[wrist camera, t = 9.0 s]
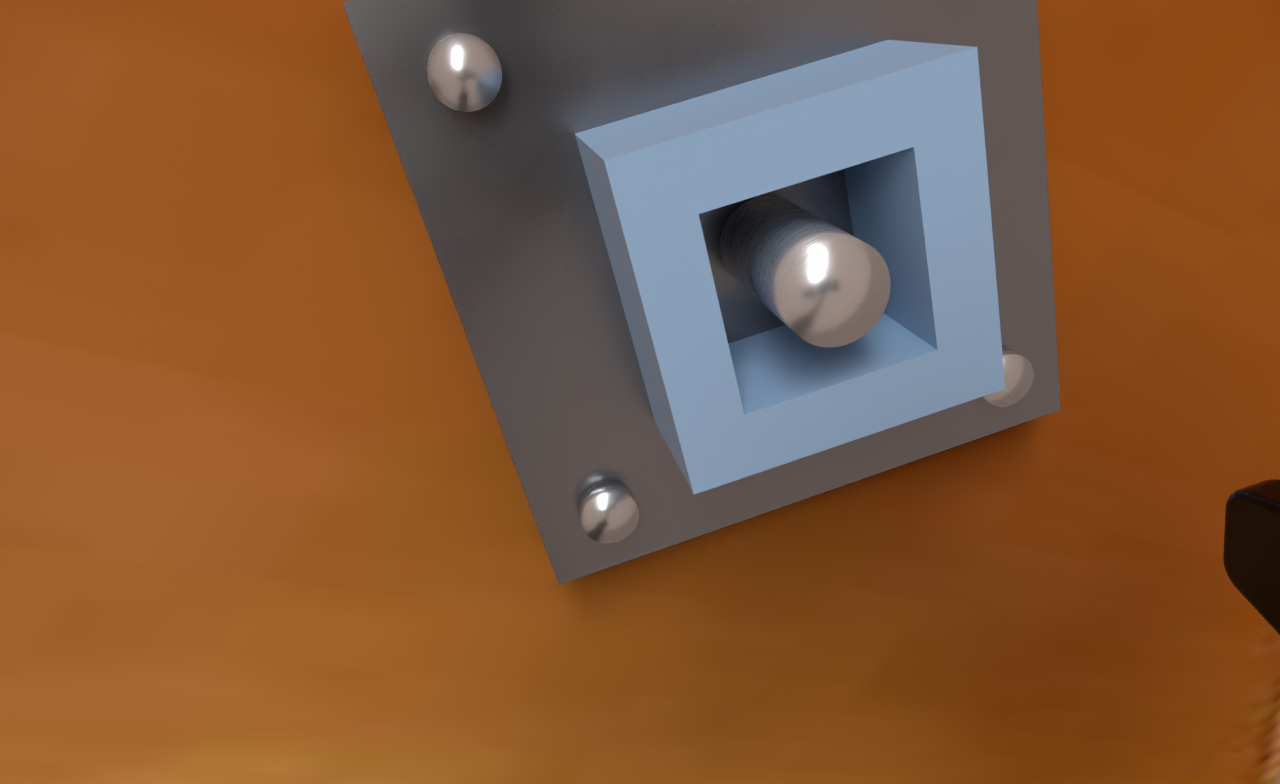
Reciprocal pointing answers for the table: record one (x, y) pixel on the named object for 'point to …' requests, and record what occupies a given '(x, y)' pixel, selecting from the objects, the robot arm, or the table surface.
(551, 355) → the keeper plate
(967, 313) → the blue square ring
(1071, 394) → the table surface
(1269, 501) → the robot arm
